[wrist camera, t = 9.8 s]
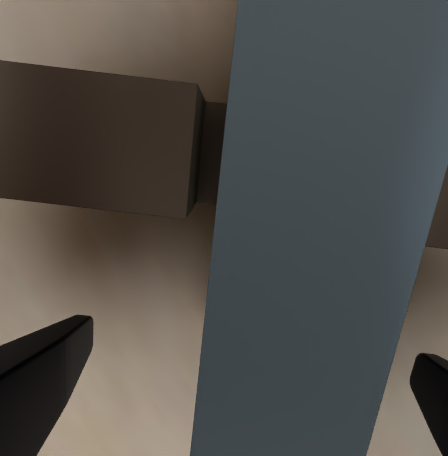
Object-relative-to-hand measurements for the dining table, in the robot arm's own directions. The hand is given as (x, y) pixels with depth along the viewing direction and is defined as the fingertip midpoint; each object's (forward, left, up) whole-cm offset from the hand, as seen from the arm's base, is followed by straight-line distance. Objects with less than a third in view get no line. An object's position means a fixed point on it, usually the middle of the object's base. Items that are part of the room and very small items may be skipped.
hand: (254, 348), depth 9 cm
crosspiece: (0, -5, -5) cm, 7 cm away
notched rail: (0, -5, -5) cm, 7 cm away
